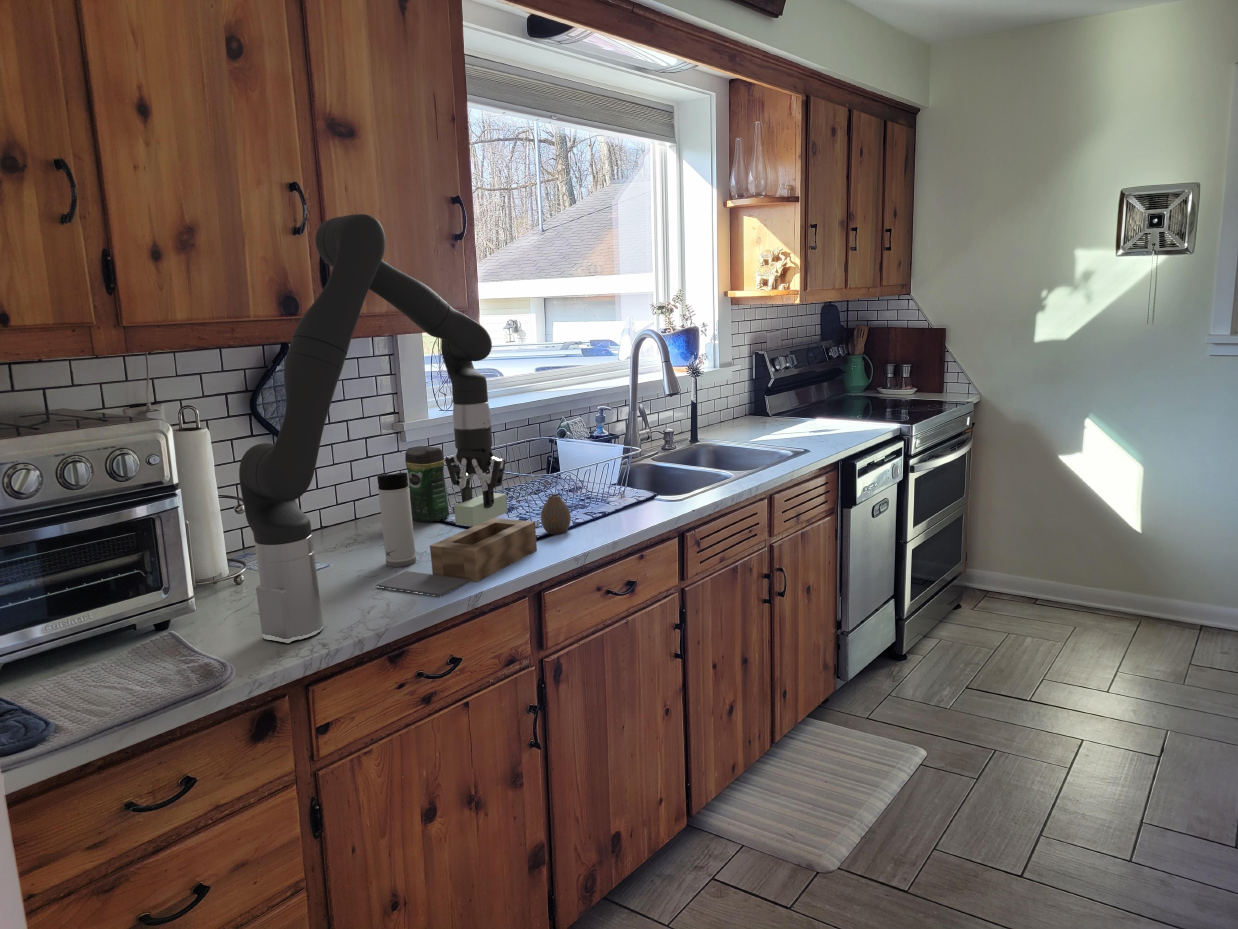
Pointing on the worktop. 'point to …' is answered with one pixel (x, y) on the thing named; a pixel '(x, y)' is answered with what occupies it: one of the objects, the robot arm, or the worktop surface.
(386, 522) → the travel mug
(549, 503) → the vase
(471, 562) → the brown wooden box
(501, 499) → the block
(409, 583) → the grey flat plate
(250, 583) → the worktop surface
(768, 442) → the worktop surface
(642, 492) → the worktop surface
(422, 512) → the coffee jar
